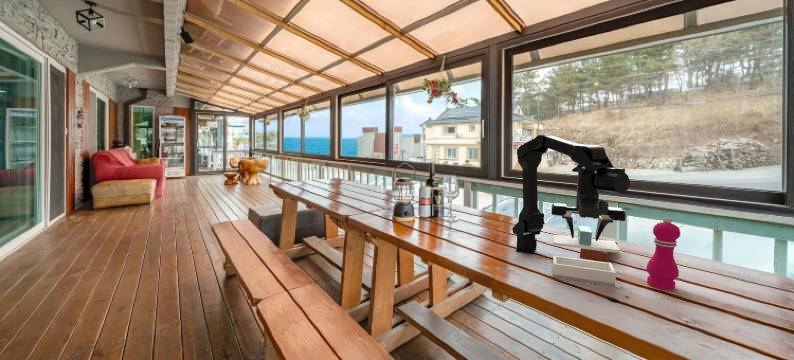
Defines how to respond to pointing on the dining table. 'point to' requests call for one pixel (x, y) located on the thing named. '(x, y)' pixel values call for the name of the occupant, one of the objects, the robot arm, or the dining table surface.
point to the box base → (584, 270)
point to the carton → (596, 254)
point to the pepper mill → (663, 256)
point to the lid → (585, 241)
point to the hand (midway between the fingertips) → (584, 239)
